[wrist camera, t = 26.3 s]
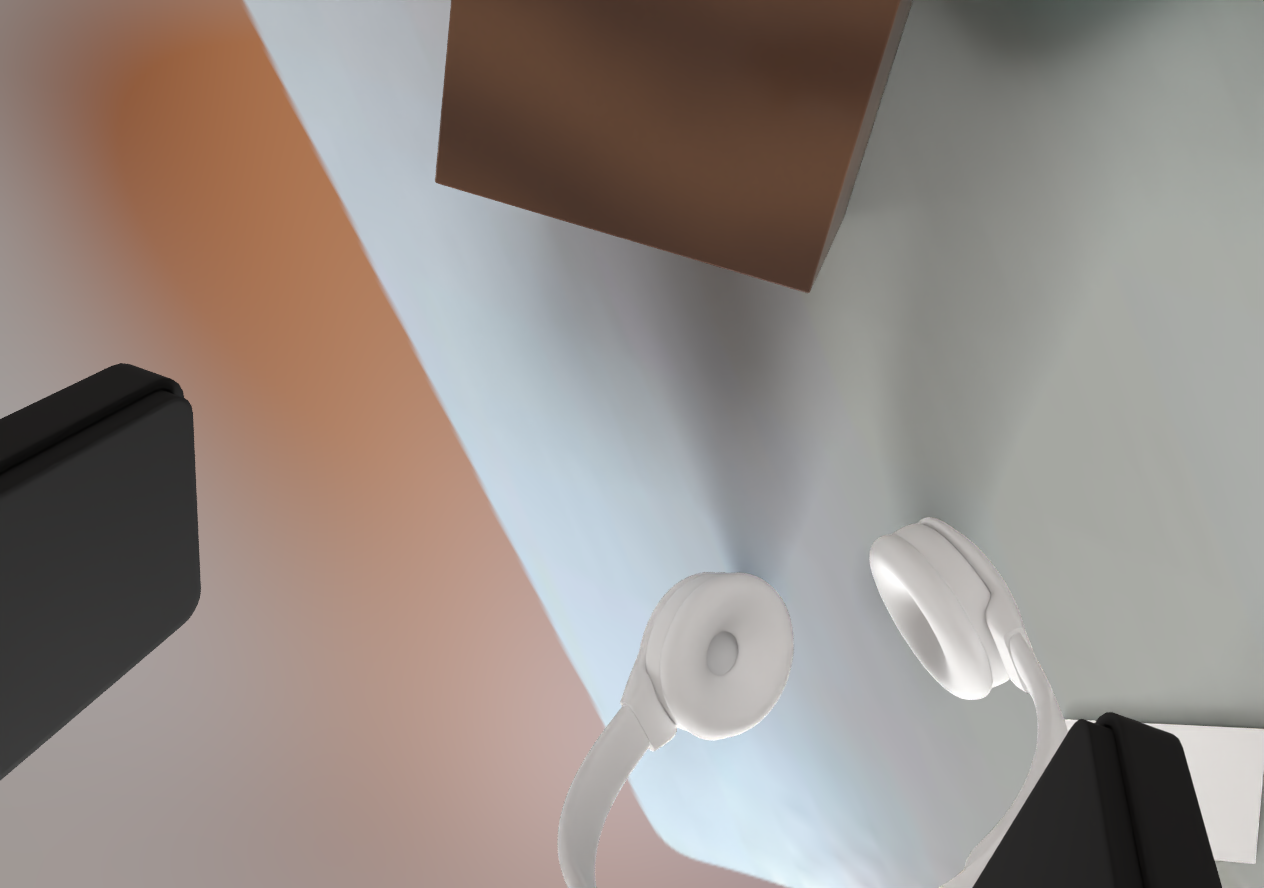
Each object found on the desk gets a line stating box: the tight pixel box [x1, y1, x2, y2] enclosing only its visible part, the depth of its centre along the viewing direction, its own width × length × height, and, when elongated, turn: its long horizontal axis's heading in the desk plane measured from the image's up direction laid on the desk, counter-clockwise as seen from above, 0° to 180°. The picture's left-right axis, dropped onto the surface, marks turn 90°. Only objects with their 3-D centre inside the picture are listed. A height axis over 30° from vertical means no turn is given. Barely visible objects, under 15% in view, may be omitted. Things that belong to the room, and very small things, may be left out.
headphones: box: [558, 517, 1068, 888], centre depth 36 cm, size 7×18×20 cm, turn 118°
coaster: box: [1064, 719, 1264, 864], centre depth 43 cm, size 8×8×1 cm
